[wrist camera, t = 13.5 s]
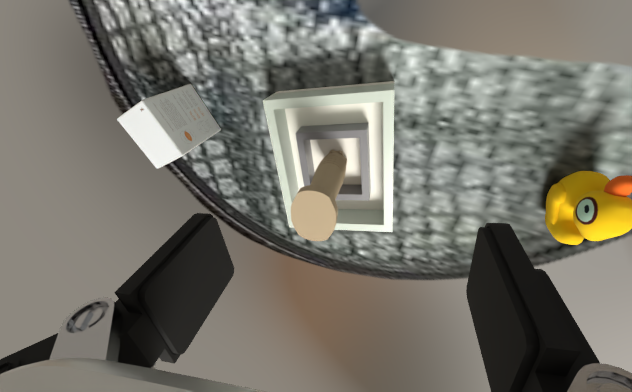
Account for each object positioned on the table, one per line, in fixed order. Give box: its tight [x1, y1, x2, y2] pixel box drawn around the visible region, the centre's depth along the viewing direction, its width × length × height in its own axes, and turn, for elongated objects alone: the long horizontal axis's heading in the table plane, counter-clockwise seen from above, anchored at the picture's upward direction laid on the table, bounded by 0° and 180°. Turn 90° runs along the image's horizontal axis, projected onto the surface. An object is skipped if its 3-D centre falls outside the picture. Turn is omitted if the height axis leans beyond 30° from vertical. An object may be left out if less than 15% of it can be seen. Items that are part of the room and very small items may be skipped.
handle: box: [291, 150, 347, 241], centre depth 36 cm, size 5×6×15 cm
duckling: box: [545, 171, 632, 245], centre depth 34 cm, size 11×5×10 cm, turn 177°
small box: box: [117, 84, 221, 168], centre depth 41 cm, size 8×6×10 cm
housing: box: [263, 81, 394, 232], centre depth 41 cm, size 20×16×6 cm
